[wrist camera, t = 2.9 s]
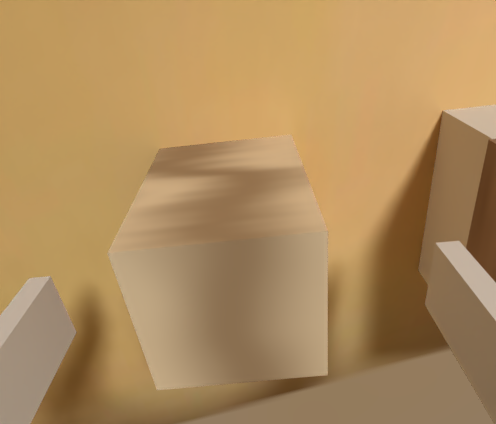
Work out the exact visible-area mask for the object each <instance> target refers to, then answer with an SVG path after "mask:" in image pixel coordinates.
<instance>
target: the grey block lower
mask: <svg viewBox="0 0 496 424" xmlns="http://www.w3.org/2000/svg"><path fill="white" fill-rule="evenodd" d="M489 139H496V105H488V106H479V107H470V108H461V109H452V110H443V113H442V119H441V126H440V132H439V139H438V145H437V152H436V158H435V165H434V171H433V178H432V184H431V191H430V197H429V204H428V210H427V217H426V223H425V230H424V236H423V243H422V249H421V256H420V262H419V269H418V271H419V272H420V274H421V275H422V277H423V278H424V280H425V281H426V283H427V285H428V283H429V277H430V272H431V266H432V260H433V254H434V249H435V243H439V242H451V241H460V242H461V243H462V245H463V246H464V247H465V248H466V246H467V241H468V236H469V231H470V226H471V222H472V217H473V212H474V207H475V203H476V198H477V193H478V188H479V183H480V179H481V174H482V169H483V164H484V160H485V155H486V150H487V145H488V140H489Z"/></svg>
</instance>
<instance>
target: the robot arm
mask: <svg viewBox="0 0 496 424" xmlns="http://www.w3.org/2000/svg"><path fill="white" fill-rule="evenodd" d="M425 306H426V308H427V309H428V311H429V313H430V314H431V316H432V318H433V320H434V321H435V323H436V325H437V327H438V328H439V330H440V332H441V333H442V335H443V337H444V339H445V340H446V342H447V344H448V345H449V347H450V349H451V351H452V352H453V354H454V356H455V357H456V359H457V361H458V363H459V364H460V366H461V368H462V369H463V371H464V373H465V375H466V376H467V378H468V380H469V381H470V383H471V385H472V387H473V388H474V390H475V392H476V393H477V395H478V397H479V399H480V400H481V402H482V404H483V405H484V407H485V409H486V411H487V412H488V414H489V416H490V418H491V419H492V421H493V423H494V424H496V282H495V281H494V280H493V279H492V278H491V277H490V275H489V274H488V273H487V272H486V271H485V270H484V269H483V267H482V266H481V265H480V264H479V263H478V262H477V261H476V259H475V258H474V257H473V256H472V255H471V254H470V253H469V251H468V250H467V249H466V248H465V247H464V246H463V245H462V243H461V242H460V241H451V242H439V243H435V249H434V254H433V260H432V266H431V272H430V277H429V283H428V289H427V295H426V301H425ZM76 333H77V332H76V330H75V328H74V326H73V324H72V321H71V319H70V317H69V315H68V313H67V311H66V309H65V306H64V304H63V302H62V300H61V298H60V296H59V294H58V291H57V289H56V287H55V285H54V283H53V281H52V278H51V276H48V277H37V278H29V279H28V280H27V282H26V283H25V284H24V286H23V287H22V288H21V289H20V291H19V292H18V293H17V295H16V296H15V297H14V298H13V300H12V301H11V302H10V304H9V305H8V306H7V308H6V309H5V310H4V311H3V313H2V314H1V315H0V424H31V422H32V420H33V418H34V416H35V414H36V412H37V410H38V408H39V406H40V404H41V402H42V400H43V398H44V396H45V394H46V392H47V390H48V388H49V386H50V384H51V382H52V380H53V378H54V376H55V374H56V372H57V370H58V368H59V366H60V364H61V362H62V360H63V358H64V356H65V354H66V352H67V350H68V348H69V346H70V344H71V342H72V340H73V338H74V336H75V334H76Z"/></svg>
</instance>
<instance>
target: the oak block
mask: <svg viewBox="0 0 496 424" xmlns="http://www.w3.org/2000/svg"><path fill="white" fill-rule="evenodd" d="M108 256H109V259H110V262H111V264H112V267H113V270H114V273H115V275H116V278H117V281H118V284H119V286H120V289H121V292H122V295H123V298H124V300H125V303H126V306H127V309H128V311H129V314H130V317H131V320H132V322H133V325H134V328H135V331H136V333H137V336H138V339H139V342H140V344H141V347H142V350H143V353H144V355H145V358H146V361H147V364H148V367H149V369H150V372H151V375H152V378H153V380H154V383H155V386H156V389H157V390H164V389H176V388H187V387H198V386H210V385H221V384H233V383H244V382H255V381H267V380H278V379H289V378H301V377H312V376H324V375H328V230H327V227H326V224H325V222H324V219H323V216H322V214H321V211H320V209H319V206H318V203H317V201H316V198H315V195H314V193H313V190H312V188H311V185H310V182H309V180H308V177H307V174H306V172H305V169H304V166H303V164H302V161H301V159H300V156H299V153H298V151H297V148H296V145H295V143H294V140H293V138H292V135H282V136H273V137H263V138H254V139H245V140H236V141H226V142H217V143H208V144H199V145H190V146H180V147H171V148H162V149H159V151H158V153H157V155H156V157H155V159H154V161H153V163H152V165H151V167H150V169H149V171H148V173H147V175H146V177H145V179H144V181H143V183H142V185H141V187H140V189H139V191H138V193H137V195H136V197H135V199H134V201H133V203H132V205H131V207H130V209H129V211H128V213H127V215H126V217H125V219H124V221H123V223H122V225H121V227H120V229H119V231H118V233H117V235H116V237H115V239H114V241H113V243H112V245H111V247H110V249H109V251H108Z"/></svg>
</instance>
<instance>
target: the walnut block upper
mask: <svg viewBox="0 0 496 424" xmlns="http://www.w3.org/2000/svg"><path fill="white" fill-rule="evenodd" d="M466 249H467V250H468V251H469V253H470V254H471V255H472V256H473V257H474V258H475V259H476V261H477V262H478V263H479V264H480V265H481V266H482V267H483V269H484V270H485V271H486V272H487V273H488V274H489V275H490V277H491V278H492V279H493V280H494V281H495V282H496V139H489V140H488V145H487V150H486V155H485V160H484V164H483V169H482V174H481V179H480V183H479V188H478V193H477V198H476V203H475V207H474V212H473V217H472V222H471V226H470V231H469V236H468V241H467V246H466Z"/></svg>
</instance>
